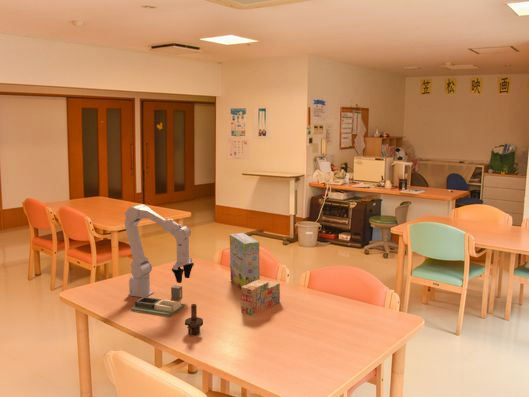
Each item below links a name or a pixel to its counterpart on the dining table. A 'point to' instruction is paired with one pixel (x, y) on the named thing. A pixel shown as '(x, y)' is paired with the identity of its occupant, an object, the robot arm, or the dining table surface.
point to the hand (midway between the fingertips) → (183, 280)
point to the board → (157, 306)
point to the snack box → (244, 259)
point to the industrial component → (194, 321)
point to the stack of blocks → (259, 296)
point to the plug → (176, 292)
